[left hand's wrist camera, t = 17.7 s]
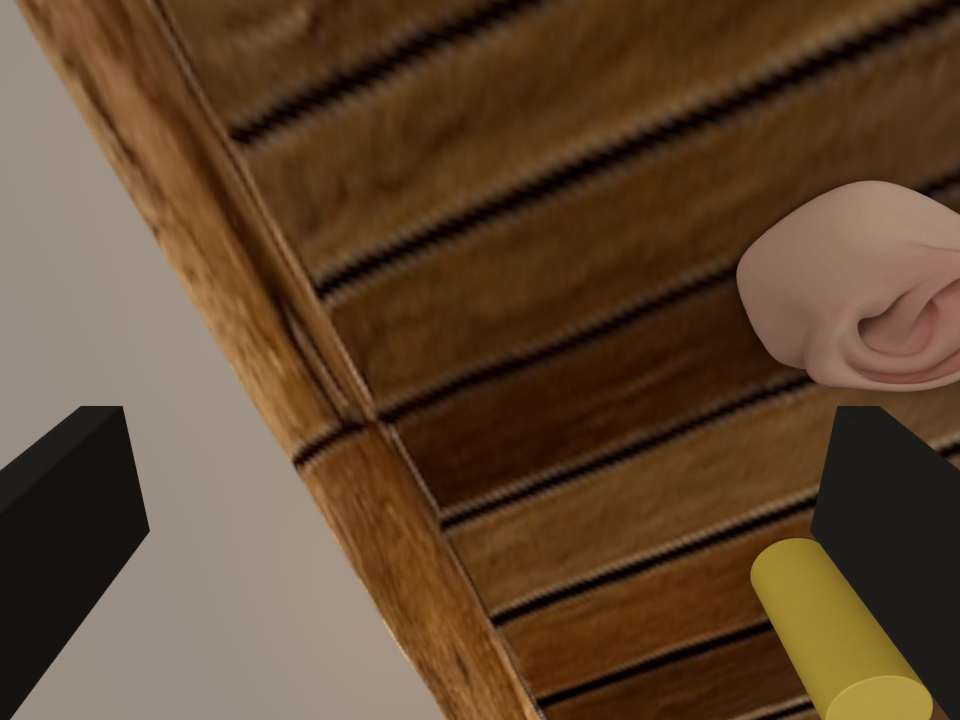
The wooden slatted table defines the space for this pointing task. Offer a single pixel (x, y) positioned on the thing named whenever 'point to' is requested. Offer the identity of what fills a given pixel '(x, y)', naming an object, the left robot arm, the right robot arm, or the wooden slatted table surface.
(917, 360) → the anatomical model
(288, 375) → the wooden slatted table surface
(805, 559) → the cylinder
